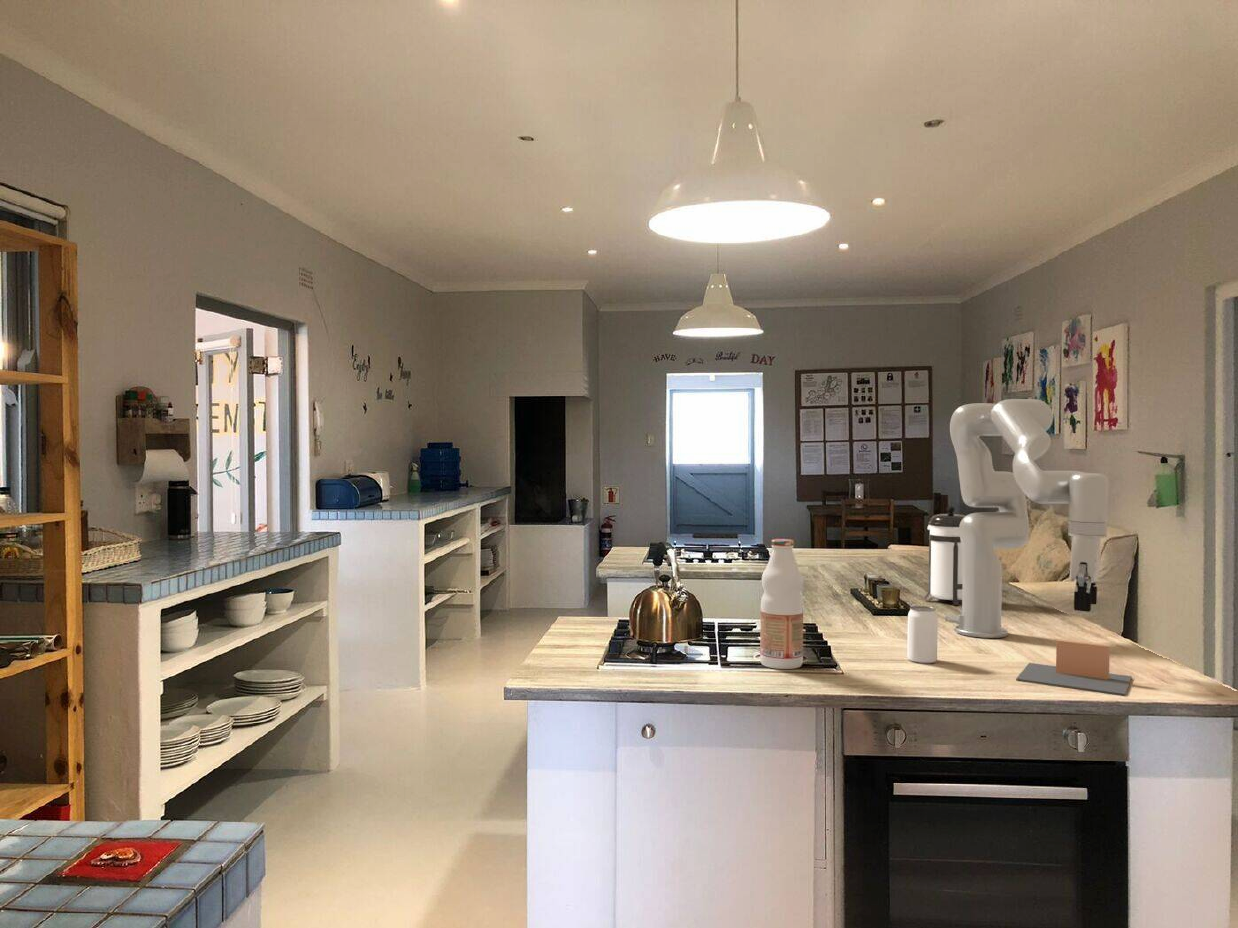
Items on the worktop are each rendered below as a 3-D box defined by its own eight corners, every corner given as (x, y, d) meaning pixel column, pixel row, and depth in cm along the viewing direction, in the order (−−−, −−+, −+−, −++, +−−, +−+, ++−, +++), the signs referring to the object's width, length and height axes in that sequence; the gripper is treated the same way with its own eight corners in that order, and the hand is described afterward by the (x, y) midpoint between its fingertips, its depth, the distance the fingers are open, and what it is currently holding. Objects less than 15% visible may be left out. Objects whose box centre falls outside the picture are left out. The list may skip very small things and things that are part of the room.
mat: (1016, 680, 187) (1016, 678, 187) (1029, 664, 200) (1029, 662, 200) (1125, 695, 176) (1125, 693, 176) (1131, 678, 189) (1131, 676, 189)
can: (936, 658, 206) (937, 606, 206) (937, 664, 200) (938, 611, 199) (907, 655, 208) (908, 604, 208) (906, 662, 202) (907, 609, 202)
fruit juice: (763, 669, 195) (765, 542, 194) (757, 659, 204) (758, 537, 203) (806, 670, 195) (808, 542, 194) (798, 659, 204) (799, 537, 203)
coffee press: (929, 605, 271) (930, 507, 271) (920, 596, 287) (921, 503, 286) (989, 607, 269) (990, 508, 268) (976, 598, 284) (978, 504, 283)
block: (1055, 672, 192) (1056, 640, 192) (1057, 671, 193) (1057, 638, 193) (1108, 679, 186) (1109, 646, 186) (1109, 678, 188) (1110, 645, 188)
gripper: (1074, 525, 204) (1072, 599, 205) (1062, 531, 190) (1060, 611, 191) (1111, 527, 200) (1109, 602, 201) (1102, 534, 186) (1099, 615, 186)
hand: (1085, 607), depth 196 cm, fingers open, 9 cm apart
